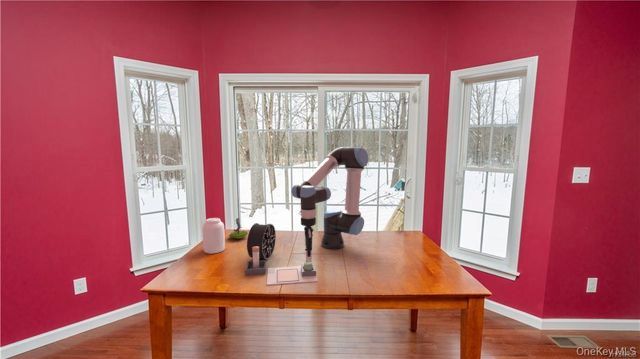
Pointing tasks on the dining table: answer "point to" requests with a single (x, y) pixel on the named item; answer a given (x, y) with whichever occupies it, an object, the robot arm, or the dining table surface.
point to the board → (287, 276)
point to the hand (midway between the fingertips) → (308, 261)
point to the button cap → (308, 266)
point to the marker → (255, 257)
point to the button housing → (308, 272)
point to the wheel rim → (261, 240)
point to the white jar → (213, 236)
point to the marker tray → (251, 271)
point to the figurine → (239, 233)
